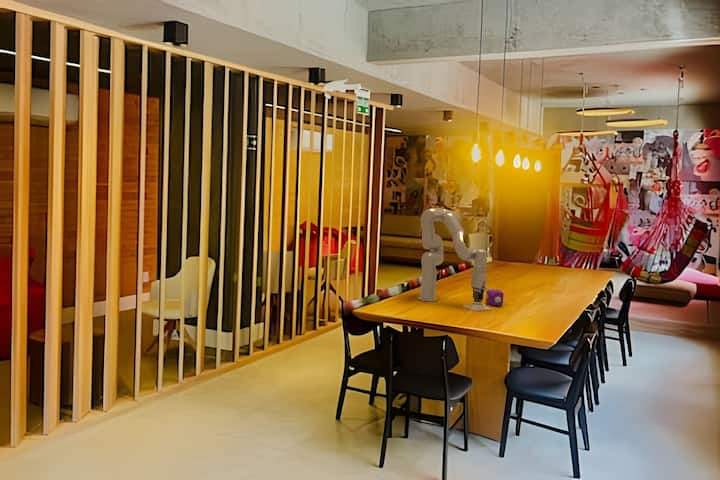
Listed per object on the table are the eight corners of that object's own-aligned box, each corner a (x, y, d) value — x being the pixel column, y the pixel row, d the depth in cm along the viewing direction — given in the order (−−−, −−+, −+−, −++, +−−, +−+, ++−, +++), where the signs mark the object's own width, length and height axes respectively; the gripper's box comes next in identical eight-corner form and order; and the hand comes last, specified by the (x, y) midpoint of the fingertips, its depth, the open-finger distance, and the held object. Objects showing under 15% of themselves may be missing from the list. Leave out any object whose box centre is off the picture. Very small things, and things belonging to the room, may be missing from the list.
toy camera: (492, 307, 396) (493, 292, 396) (482, 303, 410) (483, 288, 409) (507, 307, 399) (508, 292, 398) (497, 303, 412) (498, 288, 412)
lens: (471, 300, 391) (472, 288, 390) (478, 300, 393) (479, 287, 392) (476, 302, 386) (477, 289, 385) (483, 302, 388) (484, 289, 388)
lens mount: (463, 307, 393) (463, 302, 393) (479, 306, 398) (479, 301, 398) (474, 311, 382) (475, 306, 382) (490, 310, 387) (491, 305, 387)
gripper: (466, 267, 394) (464, 296, 395) (483, 271, 379) (481, 301, 380) (476, 267, 397) (474, 296, 399) (493, 271, 382) (491, 301, 383)
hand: (477, 298), depth 389 cm, fingers closed on lens, 5 cm apart
